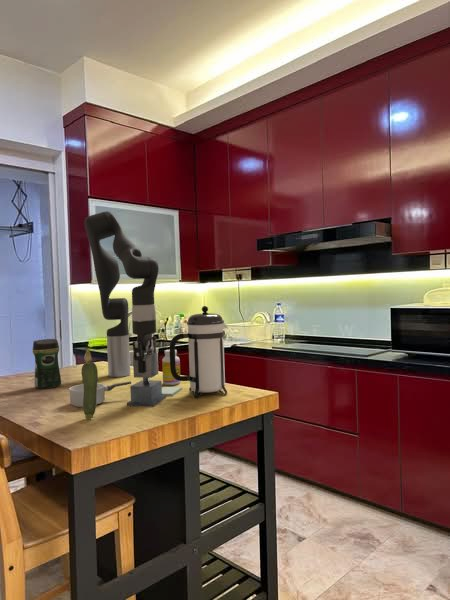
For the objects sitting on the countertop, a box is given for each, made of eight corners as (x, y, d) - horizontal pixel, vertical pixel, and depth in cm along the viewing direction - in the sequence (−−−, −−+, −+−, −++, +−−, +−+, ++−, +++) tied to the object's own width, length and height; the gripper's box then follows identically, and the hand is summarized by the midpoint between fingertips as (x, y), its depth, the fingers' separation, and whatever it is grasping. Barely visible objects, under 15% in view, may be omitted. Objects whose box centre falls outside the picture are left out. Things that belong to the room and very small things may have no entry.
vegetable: (85, 416, 127) (82, 347, 126) (100, 415, 127) (97, 347, 127) (81, 421, 122) (78, 349, 122) (97, 420, 123) (94, 349, 122)
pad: (155, 388, 160) (155, 386, 160) (181, 389, 158) (181, 387, 158) (145, 395, 150) (145, 393, 150) (172, 396, 148) (172, 393, 148)
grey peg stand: (140, 397, 148) (139, 353, 147) (166, 397, 146) (164, 352, 145) (126, 406, 137) (124, 358, 136) (153, 406, 135) (151, 358, 135)
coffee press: (201, 386, 161) (198, 305, 161) (238, 390, 152) (234, 304, 151) (169, 396, 147) (166, 307, 146) (207, 402, 138) (204, 307, 137)
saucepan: (135, 401, 142) (135, 384, 142) (71, 410, 134) (70, 392, 134) (127, 394, 153) (127, 378, 153) (67, 402, 144) (66, 385, 144)
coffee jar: (59, 383, 176) (57, 337, 176) (62, 386, 169) (60, 338, 169) (33, 386, 171) (30, 339, 171) (35, 390, 164) (33, 341, 164)
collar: (141, 373, 145) (140, 352, 145) (158, 373, 144) (157, 352, 143) (133, 377, 139) (132, 355, 139) (151, 377, 138) (150, 355, 137)
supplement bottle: (173, 386, 163) (172, 351, 163) (159, 384, 167) (158, 351, 166) (183, 382, 169) (182, 349, 169) (170, 381, 172) (168, 348, 172)
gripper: (141, 317, 148) (143, 366, 149) (123, 320, 134) (125, 375, 135) (162, 317, 147) (164, 366, 147) (146, 320, 133) (148, 375, 133)
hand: (146, 370), depth 141 cm, fingers closed on collar, 6 cm apart
